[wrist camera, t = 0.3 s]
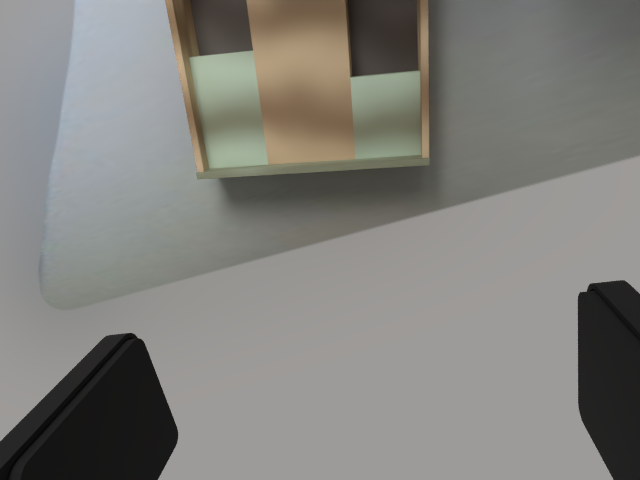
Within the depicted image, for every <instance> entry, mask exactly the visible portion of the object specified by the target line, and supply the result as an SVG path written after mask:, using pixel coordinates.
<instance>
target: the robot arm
mask: <svg viewBox="0 0 640 480" xmlns="http://www.w3.org/2000/svg"><path fill="white" fill-rule="evenodd" d="M578 403H579V411H580V415H581V418H582V421H583V423H584V425H585V427H586V429H587V431H588V433H589V435H590V437H591V438H592V440H593V442H594V444H595V446H596V448H597V449H598V451H599V453H600V455H601V457H602V459H603V461H604V462H605V464H606V466H607V468H608V470H609V472H610V474H611V476H612V477H613V479H614V480H640V294H639V293H638V292H637V291H636V290H635V289H634V288H633V287H632V286H631V285H630V284H628V283H627V282H626V281H623V280H622V281H611V282H602V283H593V284H590V285H589V286H588V289H587V292H580V294H579V296H578ZM177 440H178V430H177V426H176V424H175V421H174V419H173V416H172V413H171V411H170V408H169V406H168V403H167V400H166V398H165V395H164V393H163V390H162V388H161V385H160V382H159V379H158V377H157V374H156V372H155V369H154V367H153V364H152V361H151V359H150V356H149V353H148V351H147V348H146V346H145V343H144V342H143V341H142V340H141V339H138V338H137V337H136V335H135V334H132V333H126V334H118V335H109V336H106V337H104V338H103V339H102V340H101V341H100V342H99V343H98V344H97V345H96V346H95V347H94V348H93V349H92V351H90V352H89V353H88V354H87V355H86V356H85V357H84V358H83V359H82V360H81V361H80V362H79V363H78V364H77V365H76V366H75V367H74V368H73V369H72V370H71V371H70V372H69V373H68V374H67V375H66V376H65V377H64V378H63V379H62V380H61V381H60V382H59V383H58V384H57V385H56V386H55V387H54V389H52V390H51V391H50V392H49V393H48V394H47V395H46V396H45V397H44V398H43V399H42V400H41V401H40V402H39V403H38V404H37V406H35V408H33V409H32V410H31V411H30V412H29V413H28V414H27V416H25V417H24V419H22V420H21V421H20V422H19V424H17V425H16V426H15V427H14V428H13V430H11V431H10V432H9V434H7V435H6V436H5V437H4V438H3V440H2V441H0V480H158V478H159V476H160V474H161V473H162V471H163V469H164V467H165V465H166V463H167V461H168V460H169V457H170V456H171V454H172V452H173V450H174V448H175V446H176V444H177Z"/></svg>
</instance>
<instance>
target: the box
mask: <svg viewBox="0 0 640 480" xmlns="http://www.w3.org/2000/svg"><path fill="white" fill-rule="evenodd" d="M165 2H166V7H167V12H168V18H169V23H170V28H171V33H172V39H173V44H174V49H175V54H176V60H177V65H178V70H179V76H180V81H181V86H182V91H183V97H184V102H185V107H186V112H187V118H188V123H189V128H190V134H191V139H192V144H193V149H194V155H195V160H196V165H197V170H198V172H197V173H196V174H197V179H211V178H227V177H244V176H260V175H276V174H293V173H309V172H326V171H342V170H359V169H375V168H391V167H408V166H424V165H430V158H429V51H428V0H165Z"/></svg>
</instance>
